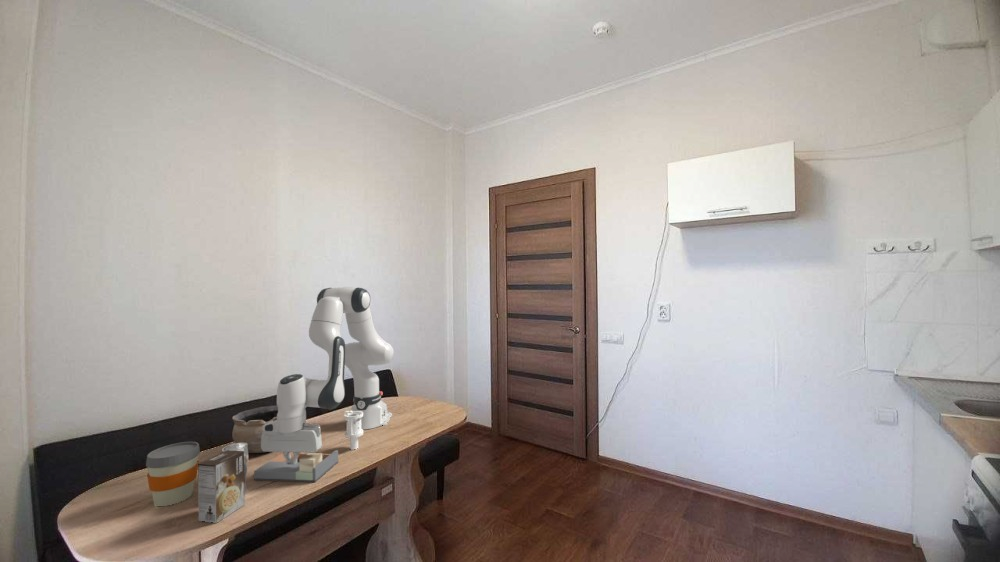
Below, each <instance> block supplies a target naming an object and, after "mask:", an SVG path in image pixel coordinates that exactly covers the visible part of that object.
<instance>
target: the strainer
mask: <svg viewBox="0 0 1000 562" xmlns="http://www.w3.org/2000/svg"><path fill="white" fill-rule="evenodd" d="M353 414H356V416H351V415H353ZM359 414H360V415H359ZM361 417H363V412H362V411H351V410H345V411H344V417H343V418H344V421H346V431H345V432H344V437H345V438H347V439H349V441H350V442H349V445H350V447H349V450H350V449H351V450H350V451H355V450H354V449H356V450H358V449H359V437H362V436H363V435H364V429H361ZM353 419H354V420H353ZM357 448H358V449H357Z"/></svg>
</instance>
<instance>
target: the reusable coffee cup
mask: <svg viewBox="0 0 1000 562" xmlns="http://www.w3.org/2000/svg"><path fill="white" fill-rule="evenodd" d="M200 449H201V448H200V444H199V443H198V442H196V441H184V442H183V441H182V442H176V443H171V444H169V445H165V446H162V447H158V448H156V449H154V450H152V451H150V452H148V454H147V456H146V461H145V462H146V463H145V467H146V468H147V471H148V472H147V474H146V476H147V477H146V478H147V483H148V488H149V491H151V494H152V500H153V505H154V506H155V505H156V506H155V507H157V506H165V507H168V506H167V505H170V506H172V505H171V504H174V505H176V504H175V503H177V504H179V503H182V502H184V501H186V500H188V499H189V498H191V496H192V495H193V492H194V486H195V479H196V478H198V464H199V463H200V461H199V460H198V459H199V455H200V453H201V452H200ZM187 498H188V499H187ZM185 499H186V500H185ZM183 500H184V501H183ZM181 501H182V502H181ZM178 502H179V503H178Z"/></svg>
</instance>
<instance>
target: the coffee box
mask: <svg viewBox="0 0 1000 562" xmlns="http://www.w3.org/2000/svg"><path fill="white" fill-rule="evenodd" d="M197 484H198V485H197V486H198V487H197V488H198V489H197V490H198V521H199V522H202V521H205V522H204V523H211V522H213V523H212V524H217V522H218V523H219V522H222V520H224V519H225V518H227V517H228V516H230V515H231V514H233V513H235V512H236V511H237V510H239V509H240V508H242V507H244V506H245V505H246V494H245V484H246V478H245V473H244V451H230V450H227V451H224V452H222V451H221V452H220V453H218V454H216V455H213V456H211V457H210V458H207V459H205V460H203V461H201V462H199V464H198V471H197Z"/></svg>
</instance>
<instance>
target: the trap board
mask: <svg viewBox="0 0 1000 562" xmlns="http://www.w3.org/2000/svg"><path fill="white" fill-rule="evenodd" d="M308 453H309V452H301V453H300V454H299V456H298V458H297V463H296V464H295V465H291V464H286V459H285V457H284V456H283V452H281V453H280V454H279V455H277V456H275V457H274V458H272V459H271V460H269V461H267V462H266V463H264V464H263V465H262V466H260V467H259V468H257V469H255V470H253V477H254V478H253V480H254V481H271V482H273V481H274V482H298V483H299V482H302V483H317V481H319V480H320V479H321V478H323V476H324V475H327V474H326V472H327V473H328V472H330V470H331V469H333V468H334V467H333V466H334V465H335V466H336V465H337V464H338V463H339V450H338V449H335V450H334V451H332V452H331V453H322V461H321V462H320V463H319V464H317V465H316V466H315V467H314V468H313V472H300V459H301V458H302V457H304V456H305V455H307V454H308ZM290 455H291V457H294V455H293V452H290Z"/></svg>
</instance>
